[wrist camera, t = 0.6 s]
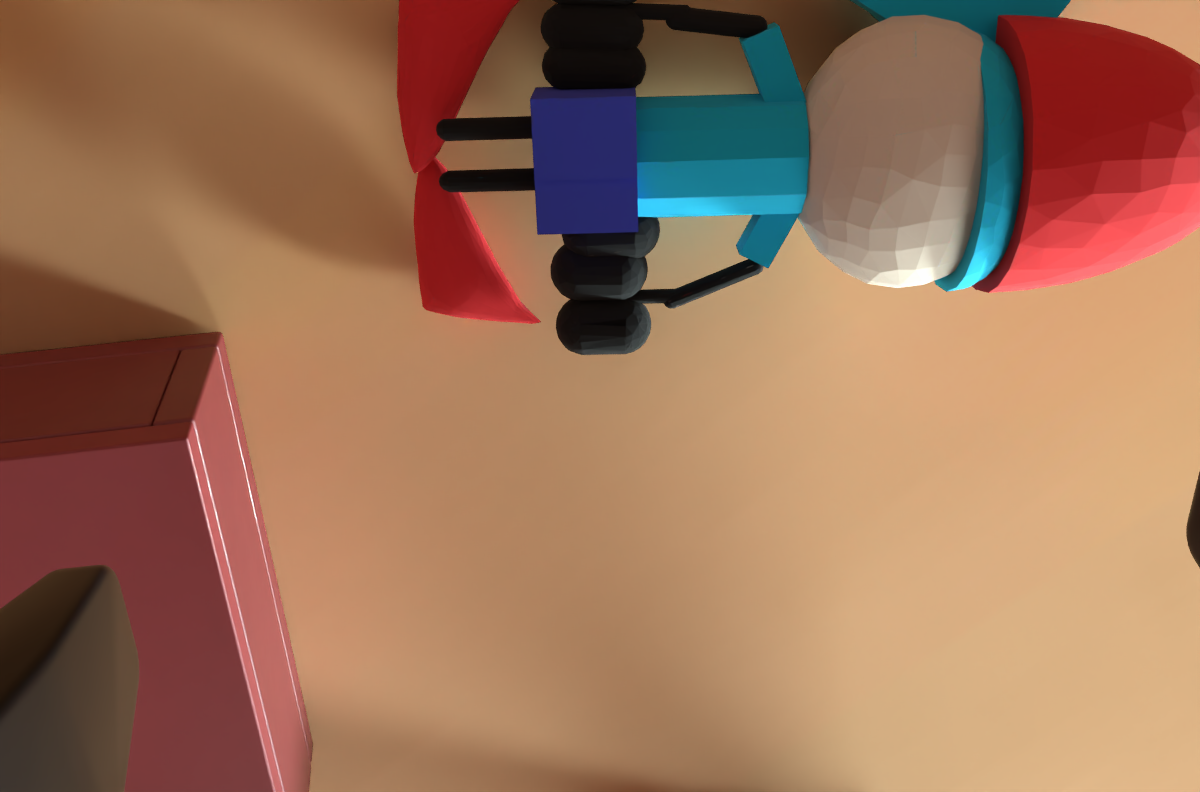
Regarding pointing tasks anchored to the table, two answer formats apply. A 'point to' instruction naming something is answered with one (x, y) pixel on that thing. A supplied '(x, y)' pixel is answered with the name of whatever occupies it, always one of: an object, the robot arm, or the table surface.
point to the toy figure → (807, 153)
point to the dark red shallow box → (207, 399)
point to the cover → (148, 593)
